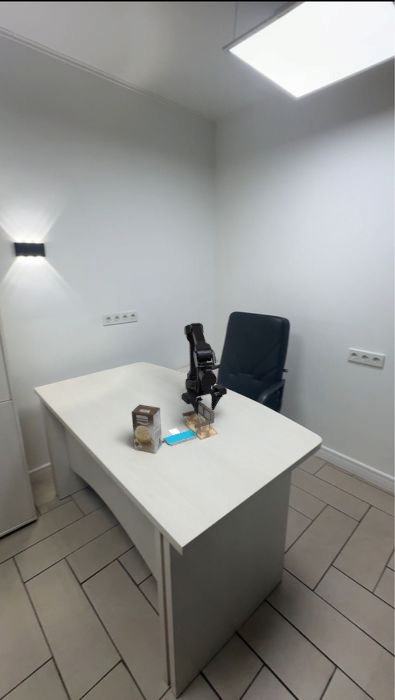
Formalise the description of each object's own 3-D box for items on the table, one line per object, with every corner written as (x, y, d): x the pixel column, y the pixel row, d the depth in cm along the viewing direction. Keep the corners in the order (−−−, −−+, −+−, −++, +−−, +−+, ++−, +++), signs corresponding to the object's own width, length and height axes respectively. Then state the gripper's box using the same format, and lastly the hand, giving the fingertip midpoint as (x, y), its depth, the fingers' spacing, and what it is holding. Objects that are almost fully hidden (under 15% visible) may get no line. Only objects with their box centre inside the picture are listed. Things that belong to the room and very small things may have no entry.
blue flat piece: (193, 424, 135) (193, 421, 135) (206, 437, 125) (206, 433, 125) (150, 437, 126) (149, 433, 126) (161, 452, 116) (160, 448, 116)
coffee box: (133, 449, 117) (130, 411, 113) (142, 440, 123) (138, 404, 119) (155, 454, 114) (152, 414, 110) (163, 444, 120) (160, 407, 116)
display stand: (200, 419, 138) (200, 409, 137) (217, 434, 126) (217, 423, 125) (184, 424, 134) (184, 414, 133) (200, 439, 123) (200, 428, 121)
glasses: (199, 411, 135) (199, 400, 134) (214, 422, 125) (213, 411, 124) (182, 415, 131) (181, 405, 130) (195, 428, 121) (195, 417, 120)
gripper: (213, 367, 136) (213, 400, 140) (174, 375, 128) (176, 410, 132) (227, 375, 127) (227, 409, 131) (187, 384, 118) (188, 421, 122)
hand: (204, 412), depth 129 cm, fingers open, 7 cm apart
